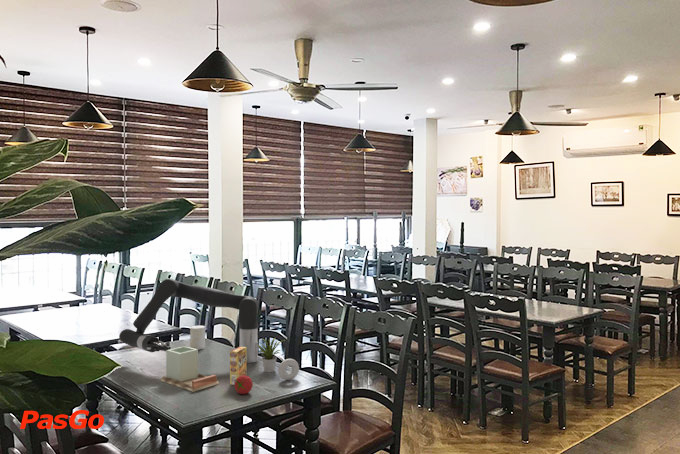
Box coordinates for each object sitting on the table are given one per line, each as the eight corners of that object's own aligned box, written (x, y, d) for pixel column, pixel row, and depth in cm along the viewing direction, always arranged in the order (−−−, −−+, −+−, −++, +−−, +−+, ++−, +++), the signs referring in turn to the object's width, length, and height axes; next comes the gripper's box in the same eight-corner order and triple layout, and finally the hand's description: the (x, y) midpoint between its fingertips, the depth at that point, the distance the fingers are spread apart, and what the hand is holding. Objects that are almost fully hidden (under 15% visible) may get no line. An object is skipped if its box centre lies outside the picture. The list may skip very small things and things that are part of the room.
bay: (160, 380, 249) (160, 372, 249) (186, 373, 260) (186, 365, 260) (193, 391, 234) (193, 382, 234) (218, 383, 245) (218, 375, 245)
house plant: (282, 365, 277) (282, 333, 276) (288, 372, 263) (289, 339, 263) (254, 367, 272) (254, 334, 272) (259, 375, 259) (259, 341, 259)
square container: (166, 377, 250) (166, 350, 249) (184, 372, 258) (184, 346, 257) (179, 382, 244) (179, 353, 243) (197, 376, 252) (197, 349, 251)
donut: (279, 382, 248) (279, 360, 248) (277, 380, 251) (277, 358, 251) (300, 379, 253) (300, 358, 252) (297, 377, 256) (297, 356, 255)
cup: (187, 348, 308) (187, 327, 308) (196, 345, 316) (196, 325, 315) (199, 350, 305) (199, 328, 305) (207, 346, 312) (207, 326, 312)
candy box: (237, 385, 243) (237, 351, 243) (229, 384, 244) (229, 350, 244) (247, 379, 252) (247, 347, 251) (238, 379, 253) (238, 346, 252)
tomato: (248, 370, 237) (238, 371, 230) (259, 384, 233) (248, 385, 227) (237, 383, 238) (226, 385, 231) (247, 397, 235) (237, 399, 228)
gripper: (136, 337, 262) (157, 343, 251) (160, 333, 272) (181, 339, 261) (135, 353, 262) (156, 359, 251) (160, 348, 272) (181, 354, 262)
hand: (169, 349), depth 256 cm, fingers closed
